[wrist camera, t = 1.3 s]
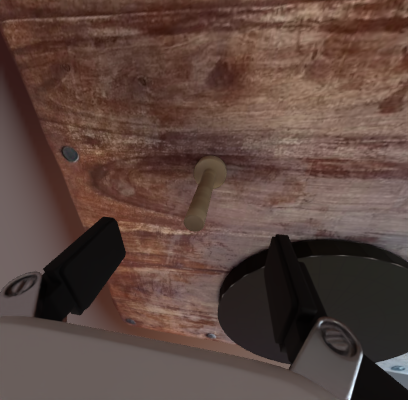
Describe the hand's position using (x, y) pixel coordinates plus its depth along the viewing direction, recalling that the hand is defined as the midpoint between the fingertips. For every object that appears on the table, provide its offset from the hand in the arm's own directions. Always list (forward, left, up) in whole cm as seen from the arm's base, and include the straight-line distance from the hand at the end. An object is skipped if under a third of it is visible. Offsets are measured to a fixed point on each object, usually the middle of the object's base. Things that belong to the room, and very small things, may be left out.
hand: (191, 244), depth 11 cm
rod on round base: (0, 0, -12) cm, 12 cm away
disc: (+23, +17, -12) cm, 31 cm away
